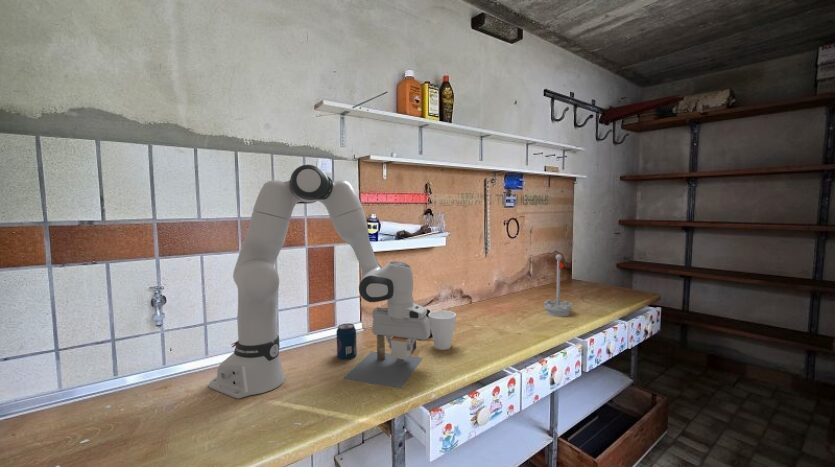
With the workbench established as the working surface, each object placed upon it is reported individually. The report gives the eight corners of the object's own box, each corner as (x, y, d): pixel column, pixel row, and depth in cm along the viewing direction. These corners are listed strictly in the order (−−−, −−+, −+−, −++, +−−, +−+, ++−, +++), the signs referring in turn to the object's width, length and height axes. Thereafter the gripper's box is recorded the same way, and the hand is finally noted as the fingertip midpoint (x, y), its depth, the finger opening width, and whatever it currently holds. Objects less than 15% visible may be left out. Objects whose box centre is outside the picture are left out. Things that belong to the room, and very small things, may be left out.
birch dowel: (375, 360, 124) (375, 335, 123) (379, 356, 127) (378, 332, 126) (383, 361, 123) (382, 335, 122) (386, 357, 126) (385, 333, 125)
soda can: (335, 356, 130) (334, 324, 129) (354, 353, 132) (353, 321, 132) (339, 364, 123) (338, 330, 123) (358, 360, 126) (357, 327, 125)
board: (341, 382, 111) (341, 378, 111) (371, 354, 132) (371, 351, 131) (401, 391, 104) (401, 388, 104) (423, 360, 125) (423, 357, 125)
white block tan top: (391, 357, 120) (390, 338, 119) (396, 351, 125) (396, 333, 124) (405, 359, 118) (405, 340, 118) (410, 353, 123) (410, 334, 122)
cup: (461, 350, 134) (461, 315, 133) (439, 356, 128) (438, 320, 127) (445, 341, 143) (445, 308, 142) (423, 347, 137) (423, 313, 136)
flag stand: (539, 310, 184) (540, 253, 182) (563, 309, 186) (564, 252, 184) (551, 317, 171) (552, 256, 169) (577, 316, 173) (578, 255, 171)
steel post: (396, 364, 121) (396, 346, 120) (399, 360, 123) (398, 343, 123) (403, 364, 120) (403, 347, 119) (406, 361, 122) (406, 344, 122)
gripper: (368, 309, 120) (369, 349, 121) (426, 314, 114) (426, 356, 115) (376, 304, 126) (377, 342, 127) (431, 309, 120) (431, 348, 121)
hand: (401, 349), depth 121 cm, fingers closed on white block tan top, 5 cm apart
